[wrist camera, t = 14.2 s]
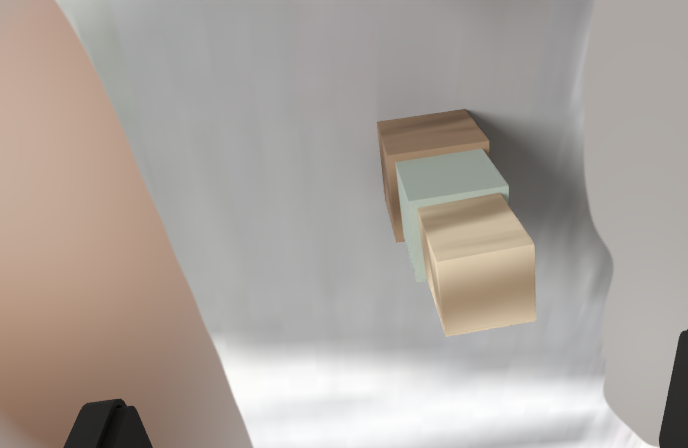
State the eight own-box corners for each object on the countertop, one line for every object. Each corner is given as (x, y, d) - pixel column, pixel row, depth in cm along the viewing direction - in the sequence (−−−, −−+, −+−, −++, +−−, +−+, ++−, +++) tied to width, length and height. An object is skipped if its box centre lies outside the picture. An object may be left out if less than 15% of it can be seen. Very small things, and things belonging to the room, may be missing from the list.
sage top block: (395, 162, 40) (408, 201, 34) (482, 148, 39) (508, 185, 34) (403, 236, 43) (417, 283, 37) (484, 224, 42) (509, 268, 37)
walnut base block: (376, 121, 45) (387, 155, 39) (464, 108, 45) (489, 140, 39) (385, 200, 49) (396, 242, 43) (467, 188, 49) (490, 229, 43)
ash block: (417, 207, 35) (436, 262, 29) (499, 192, 34) (534, 243, 29) (426, 275, 37) (445, 336, 32) (503, 261, 37) (536, 320, 32)
